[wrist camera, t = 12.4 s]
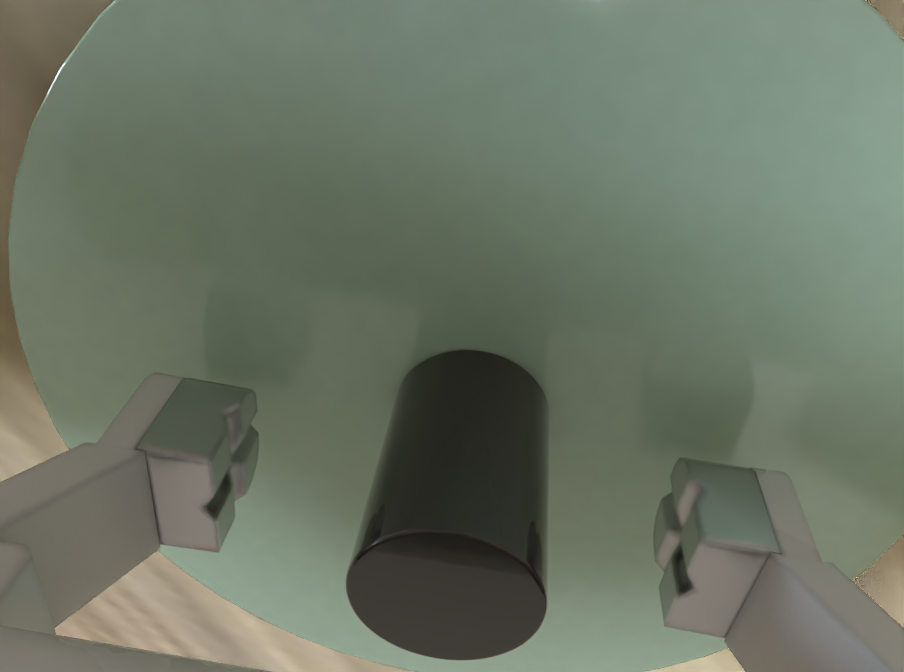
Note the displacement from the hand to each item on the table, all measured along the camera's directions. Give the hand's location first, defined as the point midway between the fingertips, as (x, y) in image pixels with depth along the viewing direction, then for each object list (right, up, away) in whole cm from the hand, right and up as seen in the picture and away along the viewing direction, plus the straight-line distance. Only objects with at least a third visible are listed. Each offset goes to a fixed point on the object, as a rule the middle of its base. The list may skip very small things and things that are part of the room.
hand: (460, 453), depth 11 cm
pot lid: (0, +1, +1) cm, 1 cm away
